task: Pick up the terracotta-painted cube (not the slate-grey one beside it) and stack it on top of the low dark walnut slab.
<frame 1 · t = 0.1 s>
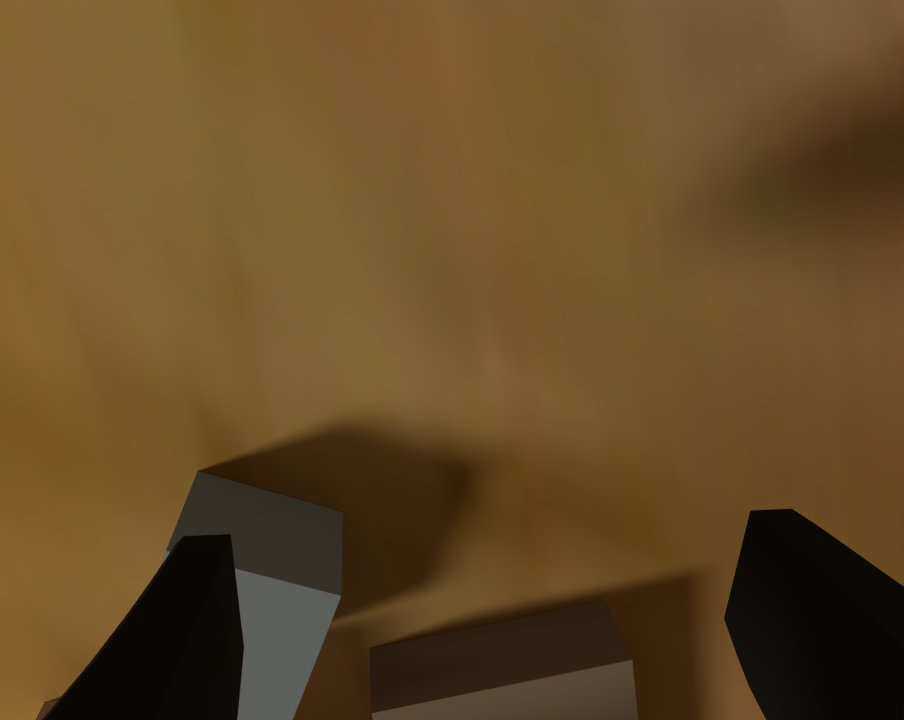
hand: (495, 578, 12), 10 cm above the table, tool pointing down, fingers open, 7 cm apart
slate cube: (250, 552, 23), on the table
walnut slab: (502, 710, 26), on the table
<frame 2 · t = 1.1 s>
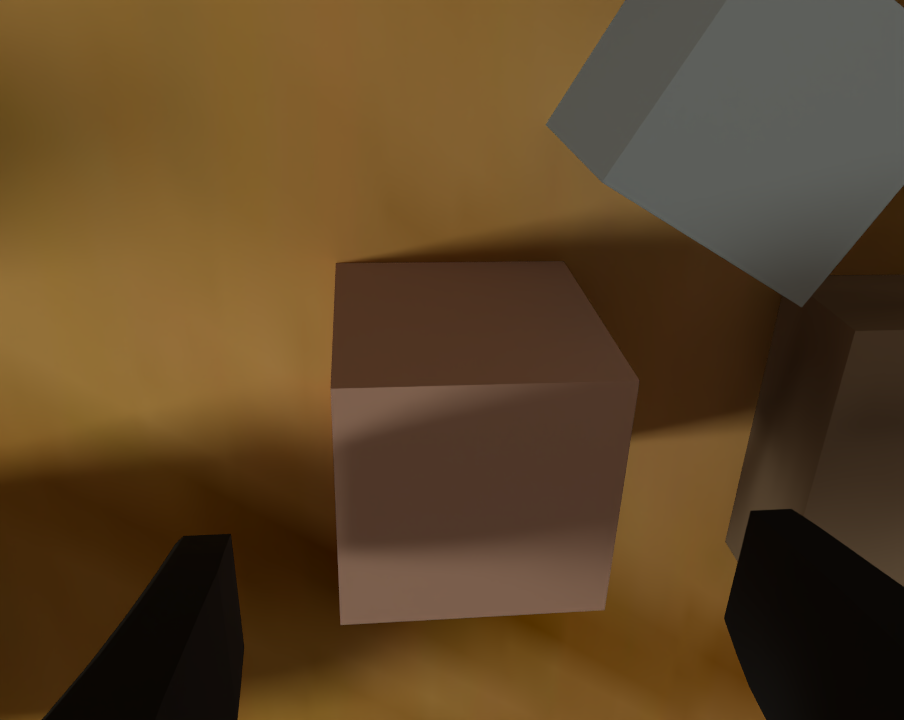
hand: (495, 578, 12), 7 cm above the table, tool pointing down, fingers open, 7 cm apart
slate cube: (693, 84, 15), on the table
walnut slab: (889, 408, 20), on the table
terracotta cube: (447, 362, 17), on the table
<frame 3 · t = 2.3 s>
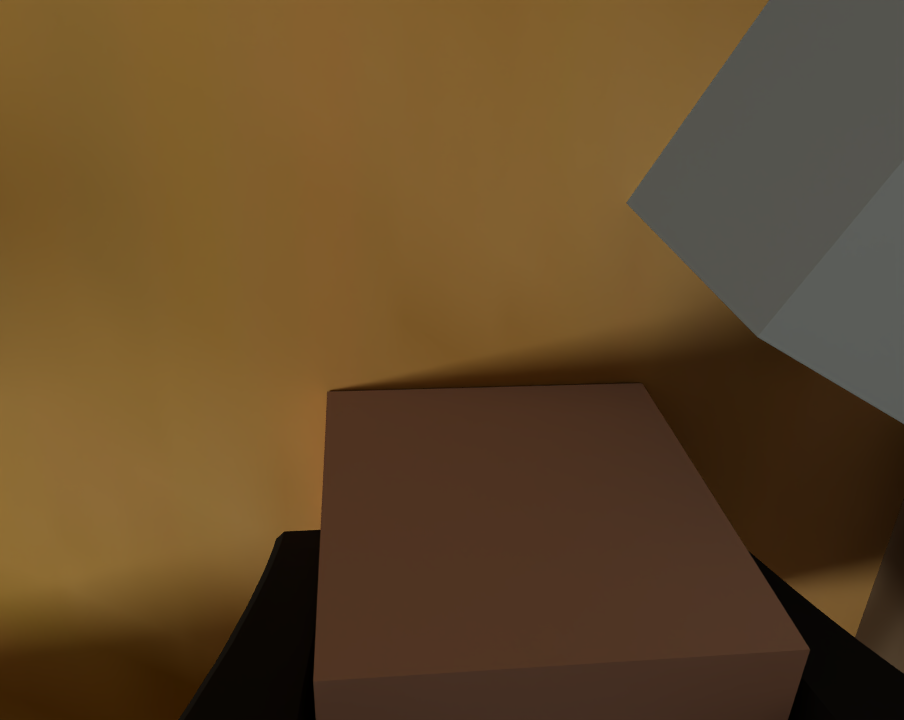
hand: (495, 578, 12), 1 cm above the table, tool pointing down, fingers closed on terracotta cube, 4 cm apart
slate cube: (836, 145, 11), on the table
terracotta cube: (480, 514, 13), on the table, touching gripper
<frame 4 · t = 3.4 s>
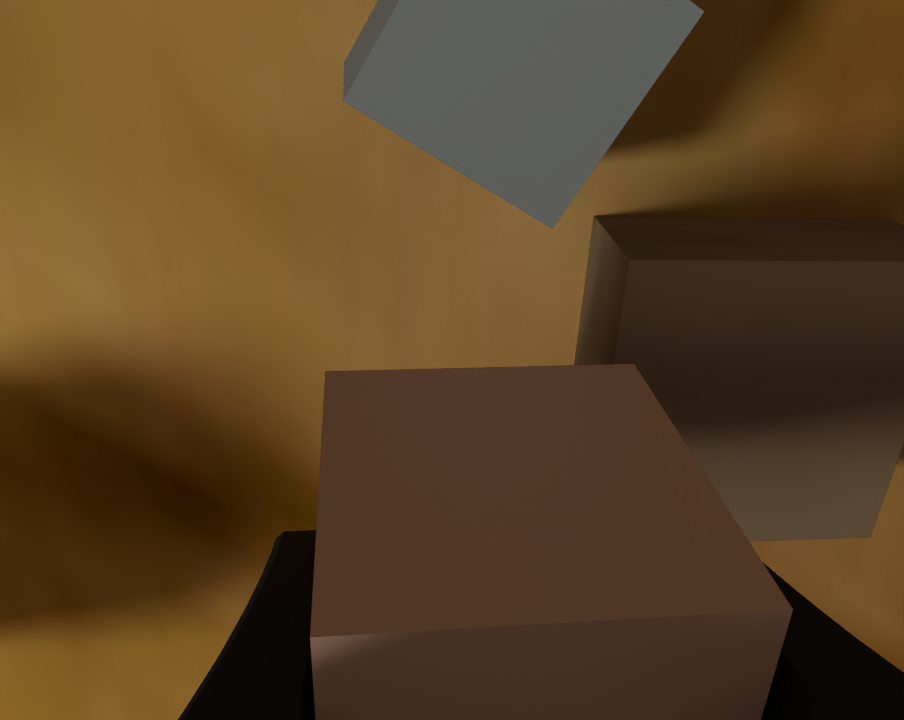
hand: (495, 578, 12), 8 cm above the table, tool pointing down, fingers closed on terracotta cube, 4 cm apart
slate cube: (485, 25, 16), on the table
walnut slab: (710, 350, 20), on the table
terracotta cube: (476, 494, 13), point 7 cm above the table, touching gripper
when the fingers open (6 cm above the table, at t = 4.7 s): terracotta cube drops 1 cm, point 3 cm above the table.
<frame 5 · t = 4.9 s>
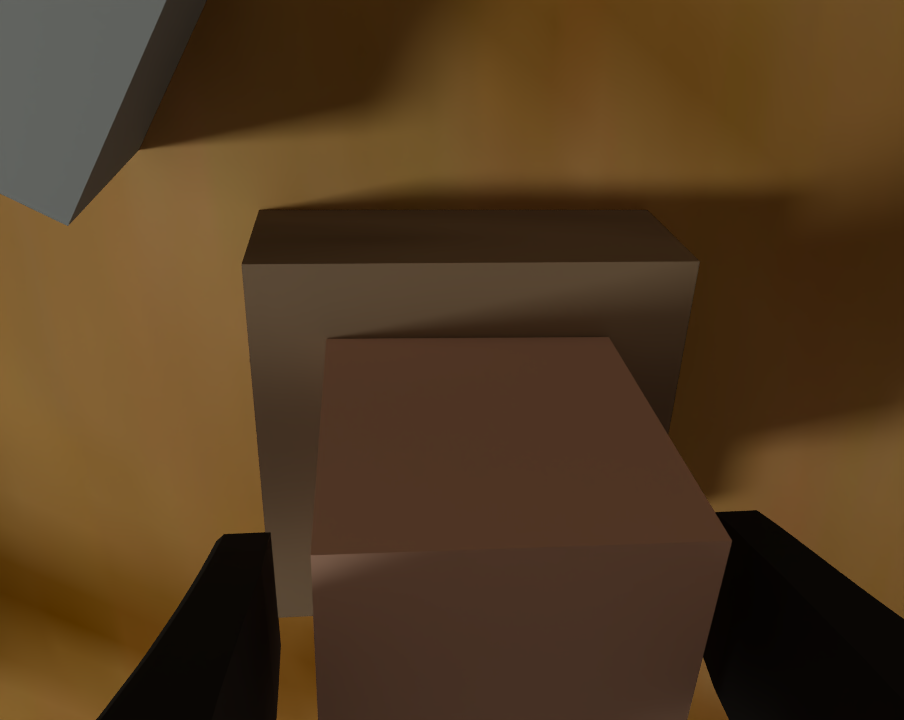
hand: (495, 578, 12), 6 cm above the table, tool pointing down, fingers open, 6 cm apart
walnut slab: (449, 371, 17), on the table
terracotta cube: (463, 456, 14), point 3 cm above the table
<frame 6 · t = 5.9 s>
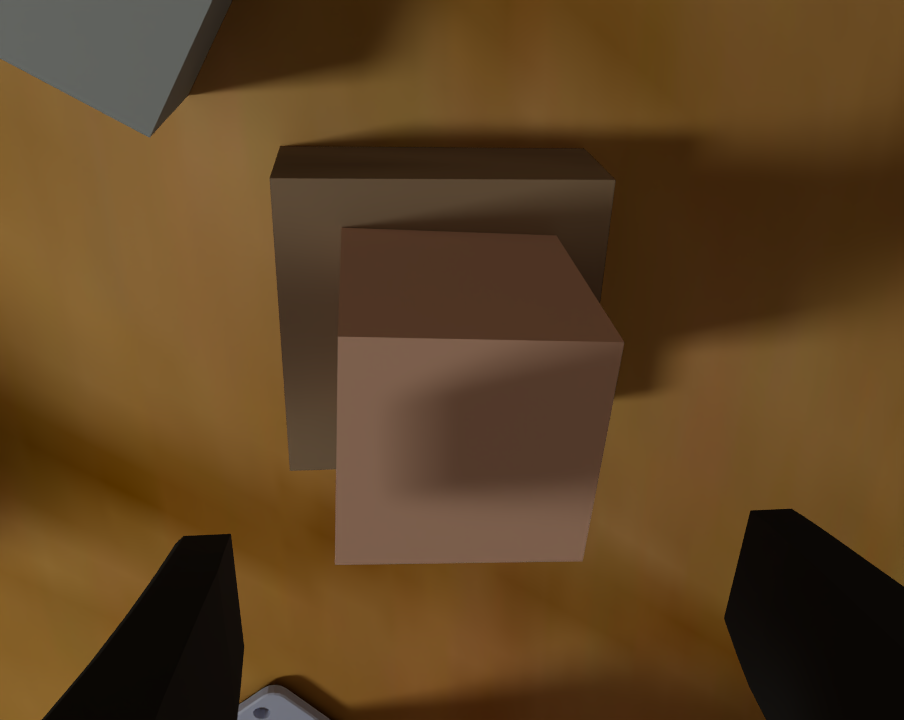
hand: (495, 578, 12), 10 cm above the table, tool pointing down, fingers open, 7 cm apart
walnut slab: (430, 282, 21), on the table, touching terracotta cube
terracotta cube: (443, 329, 18), point 3 cm above the table, touching walnut slab
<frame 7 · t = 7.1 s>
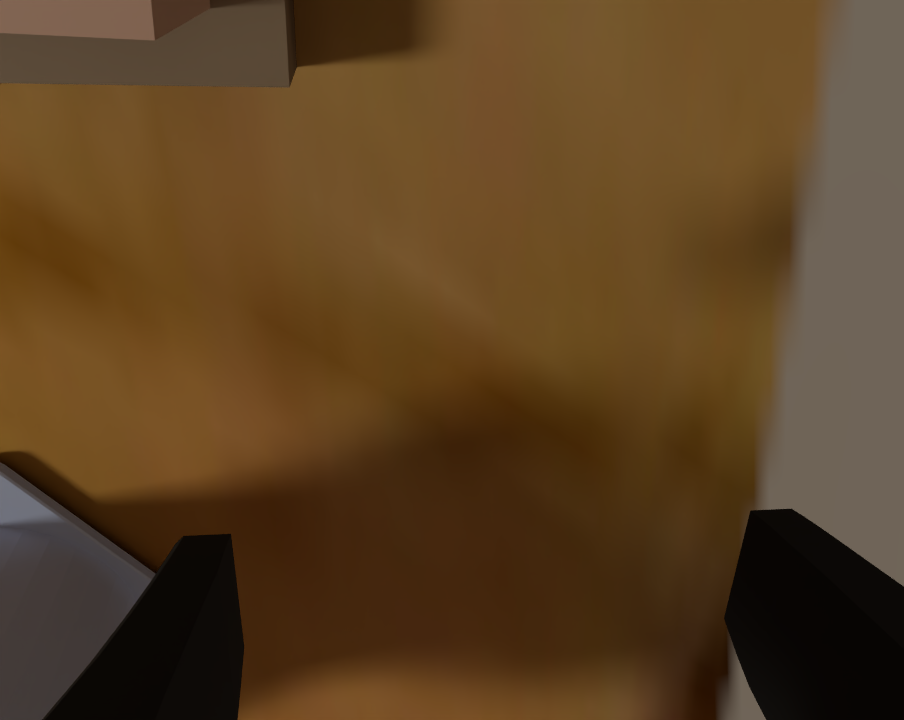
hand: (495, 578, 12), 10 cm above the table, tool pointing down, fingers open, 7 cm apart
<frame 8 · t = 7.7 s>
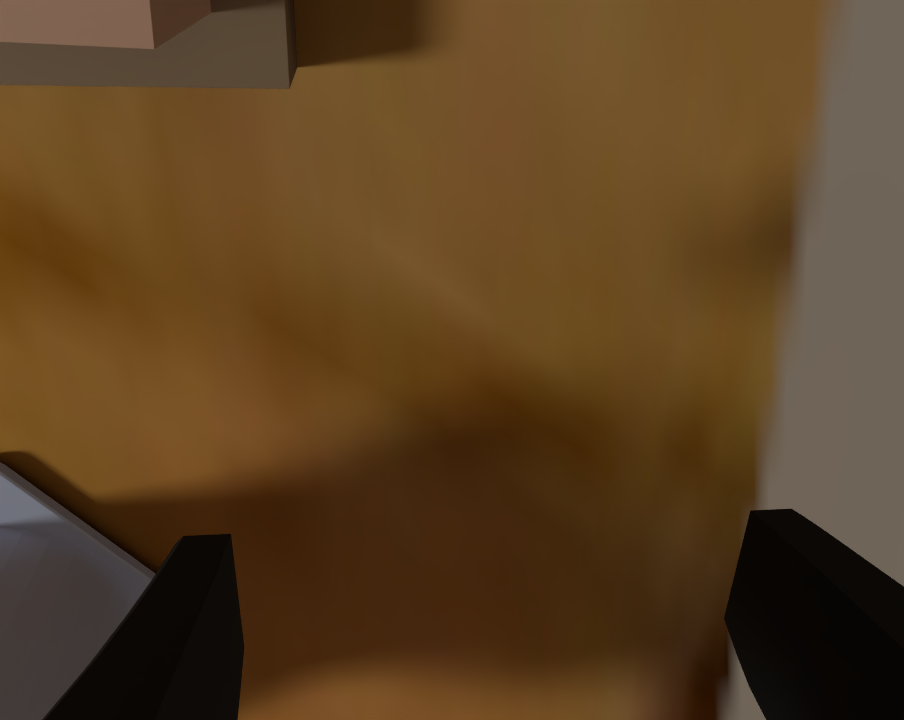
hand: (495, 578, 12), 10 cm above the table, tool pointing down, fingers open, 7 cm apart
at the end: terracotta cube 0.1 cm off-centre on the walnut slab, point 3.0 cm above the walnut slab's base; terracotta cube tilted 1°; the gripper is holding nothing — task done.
